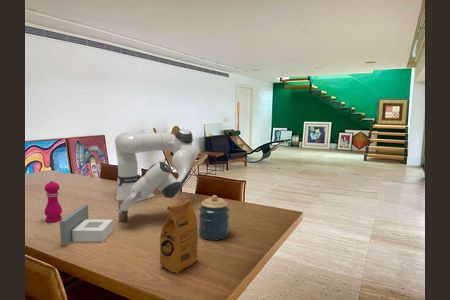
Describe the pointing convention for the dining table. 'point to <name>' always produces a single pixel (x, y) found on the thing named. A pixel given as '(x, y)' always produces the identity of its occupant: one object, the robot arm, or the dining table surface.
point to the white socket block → (92, 230)
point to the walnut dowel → (122, 213)
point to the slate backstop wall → (72, 224)
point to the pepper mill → (52, 202)
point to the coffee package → (179, 238)
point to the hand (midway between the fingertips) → (121, 209)
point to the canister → (213, 218)
